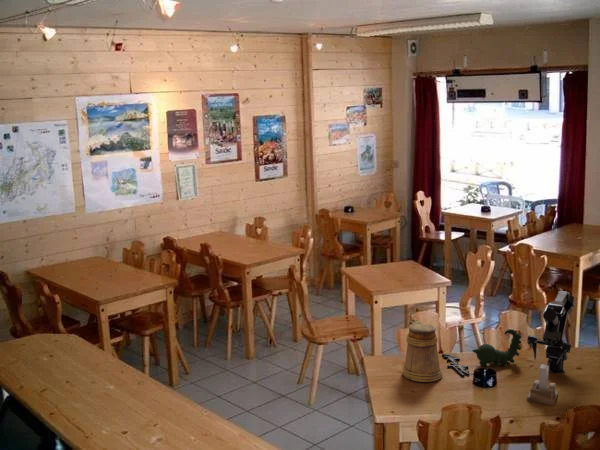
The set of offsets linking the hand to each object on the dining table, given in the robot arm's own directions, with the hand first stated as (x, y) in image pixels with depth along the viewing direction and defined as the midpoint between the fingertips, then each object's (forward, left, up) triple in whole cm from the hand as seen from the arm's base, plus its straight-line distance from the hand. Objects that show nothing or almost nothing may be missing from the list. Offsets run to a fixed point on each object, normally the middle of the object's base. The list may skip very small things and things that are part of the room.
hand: (545, 361), depth 323 cm
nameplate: (+30, -33, -14) cm, 47 cm away
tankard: (+50, -27, -13) cm, 58 cm away
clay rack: (+5, +8, -13) cm, 16 cm away
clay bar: (+5, +8, -12) cm, 15 cm away
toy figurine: (+10, -31, -14) cm, 35 cm away
